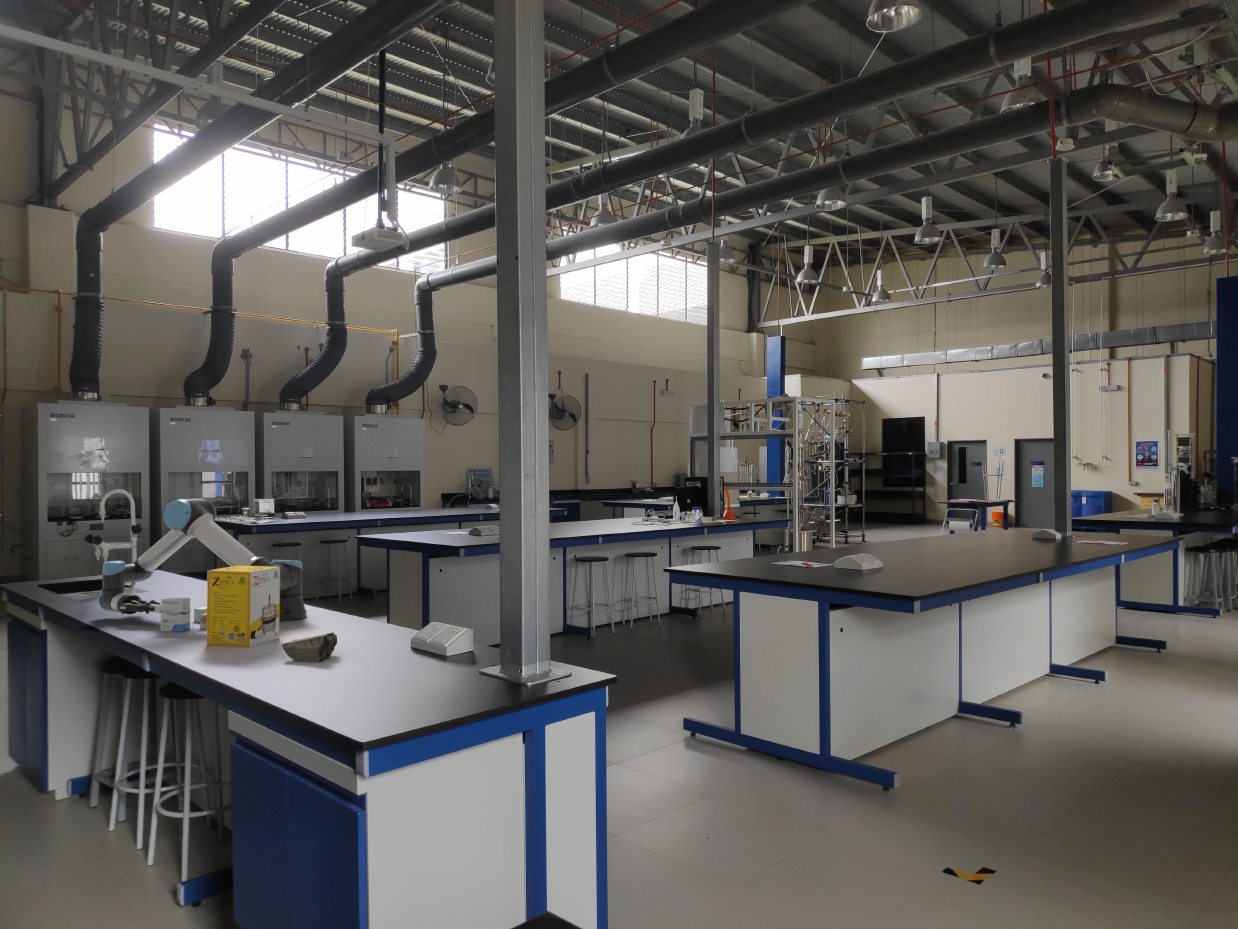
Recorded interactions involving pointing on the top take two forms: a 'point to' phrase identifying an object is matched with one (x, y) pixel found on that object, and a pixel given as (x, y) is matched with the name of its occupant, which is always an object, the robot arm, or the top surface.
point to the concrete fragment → (311, 648)
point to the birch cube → (203, 621)
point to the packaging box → (243, 605)
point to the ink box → (175, 614)
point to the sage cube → (199, 613)
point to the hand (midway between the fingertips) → (161, 609)
